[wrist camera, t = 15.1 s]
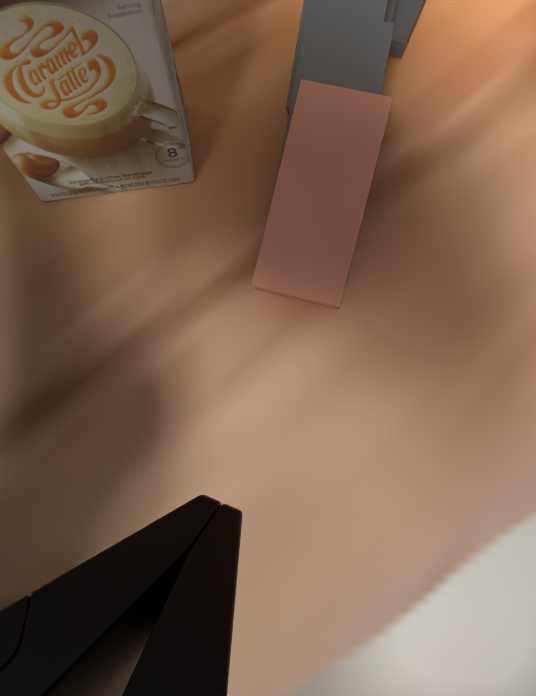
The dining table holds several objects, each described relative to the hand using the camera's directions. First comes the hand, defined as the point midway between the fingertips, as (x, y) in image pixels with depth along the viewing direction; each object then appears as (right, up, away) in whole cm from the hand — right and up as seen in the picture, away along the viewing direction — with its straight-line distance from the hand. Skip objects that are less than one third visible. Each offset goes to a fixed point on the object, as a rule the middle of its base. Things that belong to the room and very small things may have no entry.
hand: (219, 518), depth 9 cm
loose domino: (+2, +6, +15) cm, 16 cm away
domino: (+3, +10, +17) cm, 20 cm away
